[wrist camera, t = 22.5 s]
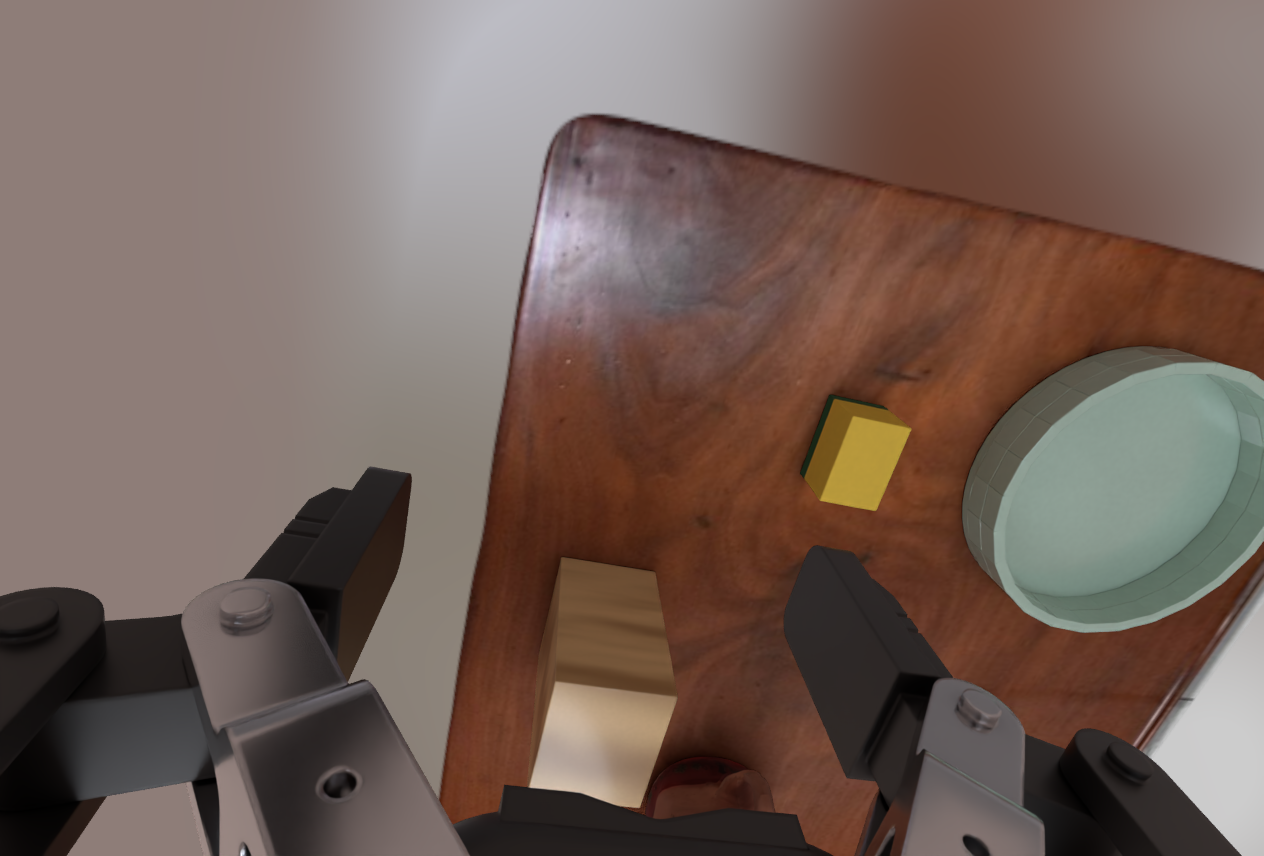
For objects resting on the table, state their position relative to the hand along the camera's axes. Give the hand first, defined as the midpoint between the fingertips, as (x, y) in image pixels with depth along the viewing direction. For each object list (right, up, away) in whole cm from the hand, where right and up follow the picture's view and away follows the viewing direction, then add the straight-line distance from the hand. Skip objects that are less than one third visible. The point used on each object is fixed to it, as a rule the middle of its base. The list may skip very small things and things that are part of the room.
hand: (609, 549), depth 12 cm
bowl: (+35, -2, +34) cm, 49 cm away
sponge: (+15, +2, +31) cm, 34 cm away
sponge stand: (-2, -12, +35) cm, 37 cm away
